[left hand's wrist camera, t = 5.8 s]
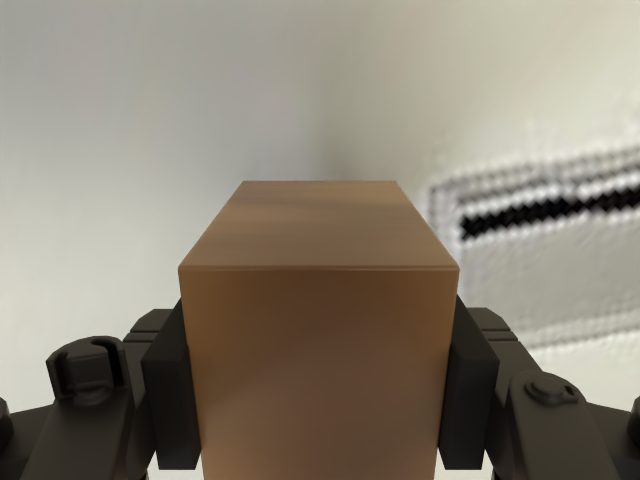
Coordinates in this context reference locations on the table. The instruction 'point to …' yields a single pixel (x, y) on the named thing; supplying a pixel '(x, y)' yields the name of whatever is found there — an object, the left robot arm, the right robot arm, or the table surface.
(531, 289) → the table surface
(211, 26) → the table surface
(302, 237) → the brown rectangular block
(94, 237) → the table surface
